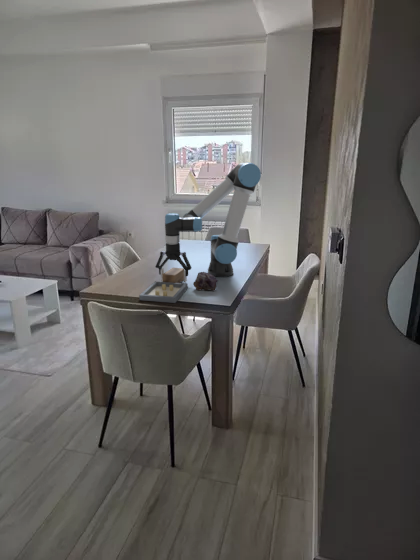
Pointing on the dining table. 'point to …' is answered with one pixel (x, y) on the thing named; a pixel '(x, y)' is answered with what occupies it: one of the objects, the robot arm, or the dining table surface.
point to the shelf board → (174, 275)
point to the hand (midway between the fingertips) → (173, 281)
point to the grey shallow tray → (164, 292)
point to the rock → (205, 281)
